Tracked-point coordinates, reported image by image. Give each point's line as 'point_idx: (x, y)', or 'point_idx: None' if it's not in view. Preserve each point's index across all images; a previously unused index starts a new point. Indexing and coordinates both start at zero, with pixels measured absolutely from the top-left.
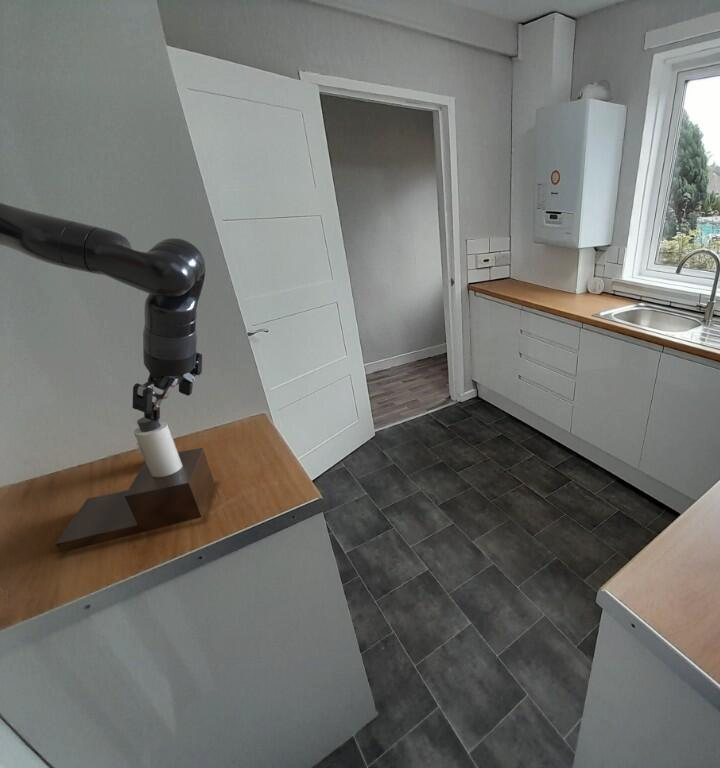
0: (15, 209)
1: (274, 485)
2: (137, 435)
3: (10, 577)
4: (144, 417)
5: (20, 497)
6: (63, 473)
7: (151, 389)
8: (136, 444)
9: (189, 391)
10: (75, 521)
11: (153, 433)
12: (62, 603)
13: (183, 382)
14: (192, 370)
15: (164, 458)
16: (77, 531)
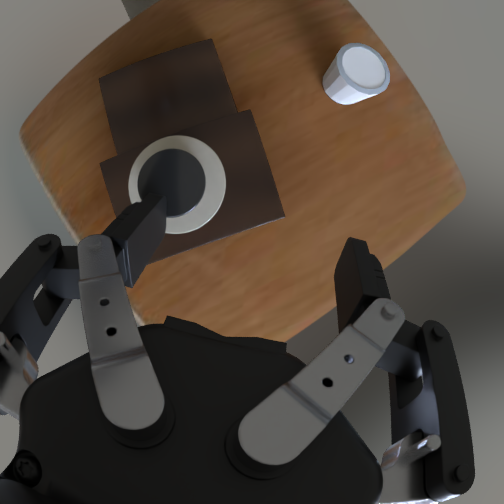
0: None
1: (248, 320)
2: (132, 169)
3: (83, 59)
4: (186, 161)
5: None
6: None
7: (3, 412)
8: (347, 44)
9: (336, 292)
10: (147, 63)
11: None
12: (33, 159)
13: (352, 305)
14: (407, 365)
15: None
16: (120, 86)
